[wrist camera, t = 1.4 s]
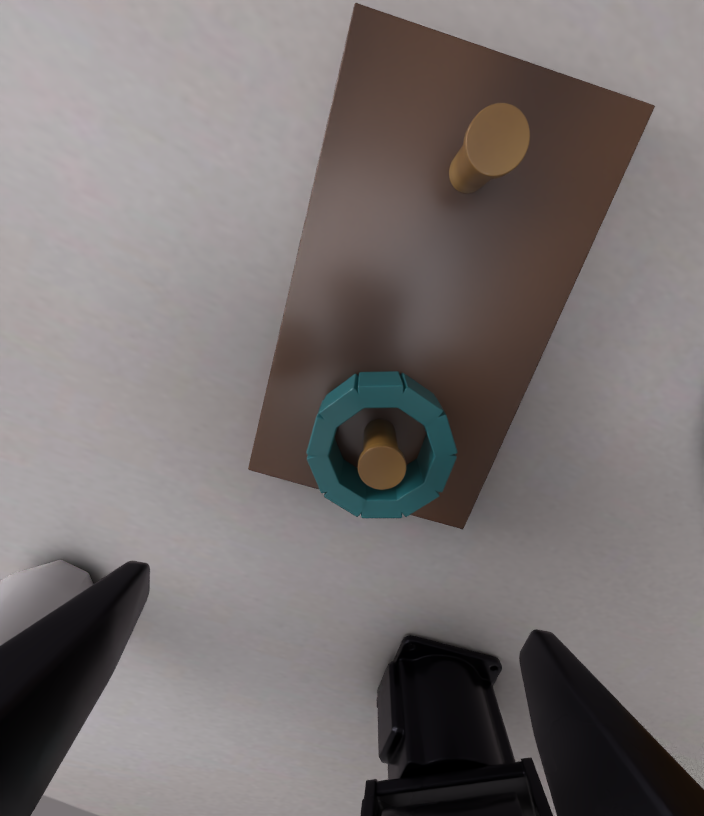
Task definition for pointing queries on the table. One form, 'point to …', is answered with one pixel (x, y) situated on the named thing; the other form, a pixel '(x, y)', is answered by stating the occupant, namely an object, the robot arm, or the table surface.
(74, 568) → the salt shaker
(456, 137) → the peg rack
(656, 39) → the table surface
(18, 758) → the robot arm
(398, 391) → the ring
